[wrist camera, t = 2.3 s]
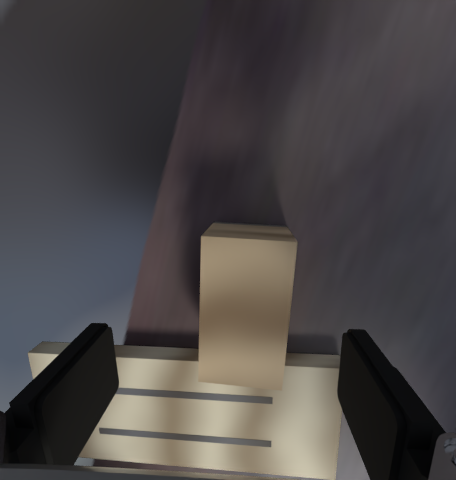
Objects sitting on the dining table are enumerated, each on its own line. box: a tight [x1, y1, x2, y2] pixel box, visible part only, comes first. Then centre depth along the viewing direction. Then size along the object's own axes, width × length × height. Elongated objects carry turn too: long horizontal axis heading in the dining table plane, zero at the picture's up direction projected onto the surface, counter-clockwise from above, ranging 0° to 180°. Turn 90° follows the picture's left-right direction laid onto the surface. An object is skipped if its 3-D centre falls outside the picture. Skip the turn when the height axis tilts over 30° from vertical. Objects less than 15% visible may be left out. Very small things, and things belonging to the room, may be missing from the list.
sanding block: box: [198, 222, 298, 391], centre depth 17 cm, size 9×5×5 cm, turn 177°
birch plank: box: [28, 342, 342, 480], centre depth 22 cm, size 24×10×2 cm, turn 91°
